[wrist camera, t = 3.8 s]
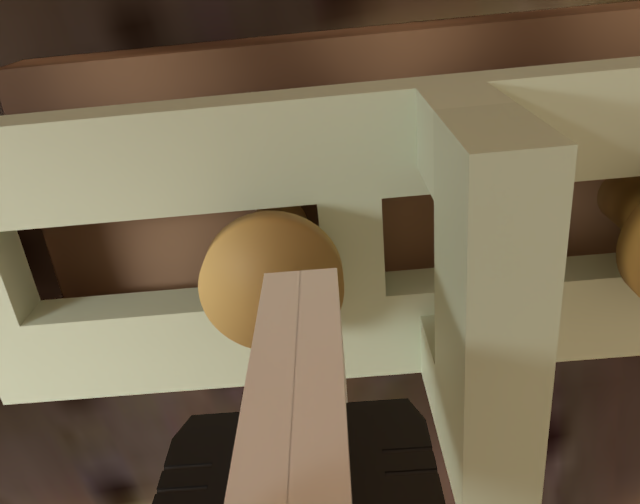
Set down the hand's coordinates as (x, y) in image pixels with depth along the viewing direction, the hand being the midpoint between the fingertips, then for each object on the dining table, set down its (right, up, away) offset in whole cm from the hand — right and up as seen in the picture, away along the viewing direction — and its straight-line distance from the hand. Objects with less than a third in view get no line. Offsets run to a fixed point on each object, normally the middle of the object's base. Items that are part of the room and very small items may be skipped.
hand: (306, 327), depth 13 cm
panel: (+1, +2, +4) cm, 5 cm away
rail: (+5, +4, +6) cm, 9 cm away
